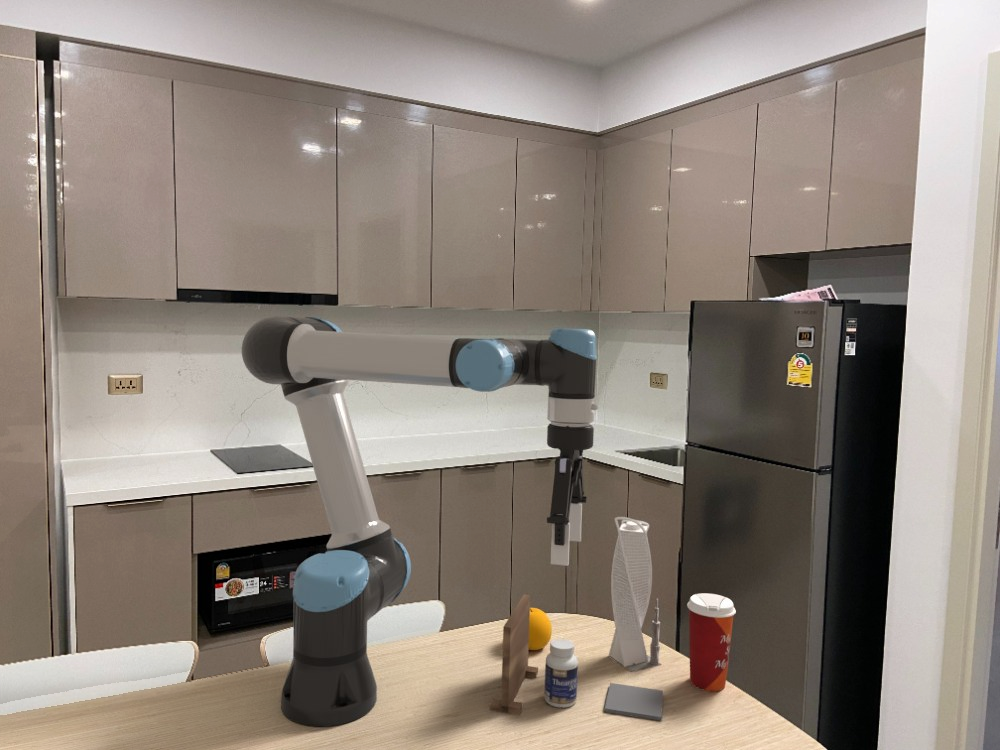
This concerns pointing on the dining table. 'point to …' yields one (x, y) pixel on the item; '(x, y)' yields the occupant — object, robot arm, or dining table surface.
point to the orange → (538, 629)
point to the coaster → (634, 701)
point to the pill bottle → (561, 674)
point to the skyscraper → (632, 597)
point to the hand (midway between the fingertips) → (566, 551)
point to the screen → (515, 658)
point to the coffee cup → (709, 640)
